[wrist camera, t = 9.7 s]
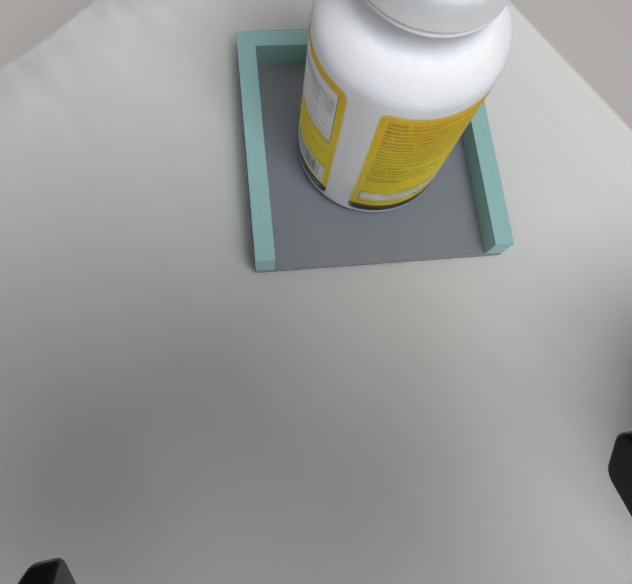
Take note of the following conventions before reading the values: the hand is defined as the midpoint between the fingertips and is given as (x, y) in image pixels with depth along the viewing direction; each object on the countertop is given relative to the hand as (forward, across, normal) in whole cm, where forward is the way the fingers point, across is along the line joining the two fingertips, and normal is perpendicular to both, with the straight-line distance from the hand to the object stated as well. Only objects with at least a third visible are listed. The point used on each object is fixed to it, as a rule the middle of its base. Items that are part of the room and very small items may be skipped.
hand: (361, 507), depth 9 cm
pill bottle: (+19, -6, 0) cm, 19 cm away
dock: (+19, -6, 0) cm, 20 cm away
